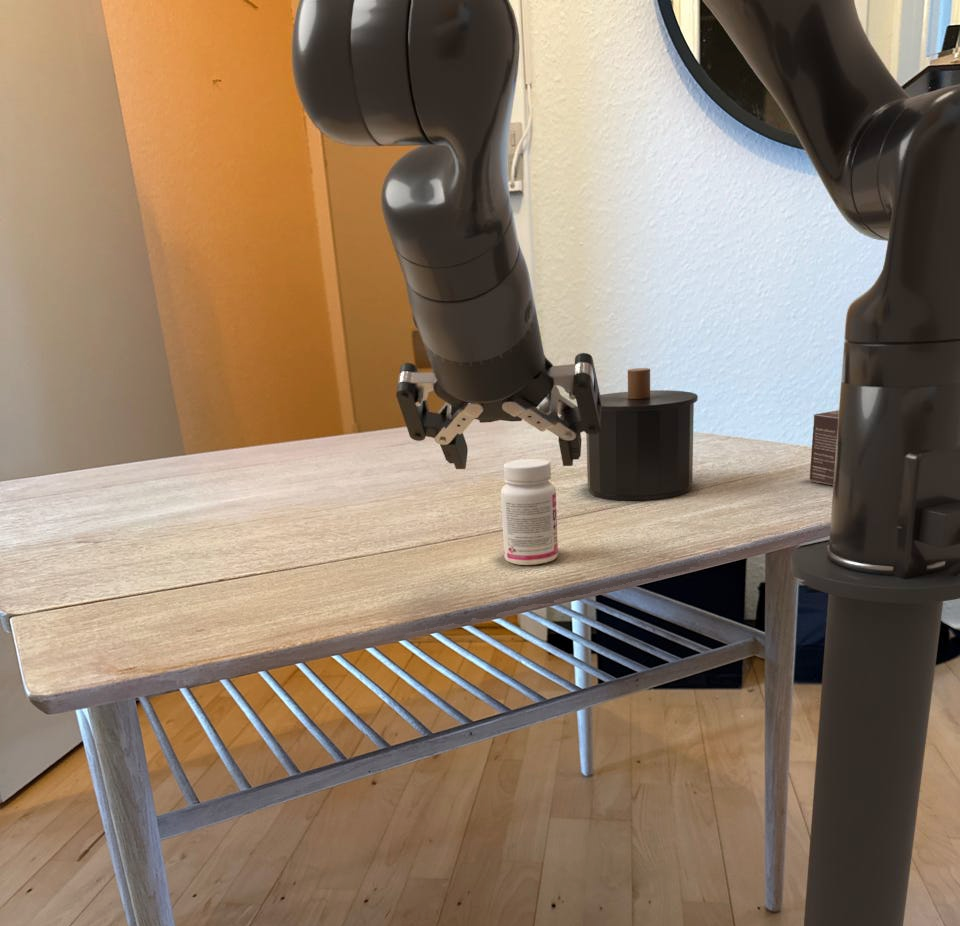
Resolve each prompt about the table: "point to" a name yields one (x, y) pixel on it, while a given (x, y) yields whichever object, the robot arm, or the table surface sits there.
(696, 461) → the table surface
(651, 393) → the pot lid
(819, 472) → the box
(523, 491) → the pill bottle
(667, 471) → the pot
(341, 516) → the table surface
